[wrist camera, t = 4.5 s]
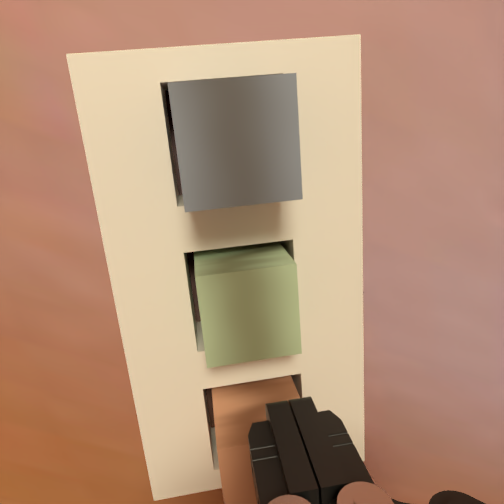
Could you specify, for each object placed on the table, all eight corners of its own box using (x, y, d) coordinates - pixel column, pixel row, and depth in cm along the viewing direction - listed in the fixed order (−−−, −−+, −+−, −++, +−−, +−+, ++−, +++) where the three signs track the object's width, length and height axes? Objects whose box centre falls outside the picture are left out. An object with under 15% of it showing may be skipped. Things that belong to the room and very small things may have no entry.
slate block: (268, 87, 22) (296, 72, 16) (274, 182, 23) (302, 199, 18) (173, 95, 21) (167, 82, 16) (185, 192, 23) (185, 212, 17)
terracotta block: (288, 368, 27) (314, 432, 21) (292, 432, 28) (318, 508, 23) (210, 381, 26) (216, 449, 21) (219, 445, 28) (227, 526, 22)
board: (333, 49, 24) (360, 34, 21) (343, 421, 32) (364, 461, 28) (86, 66, 23) (65, 54, 19) (158, 454, 30) (153, 500, 26)
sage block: (273, 234, 26) (296, 263, 21) (278, 307, 28) (301, 353, 22) (193, 244, 26) (194, 277, 20) (203, 318, 27) (206, 368, 21)
